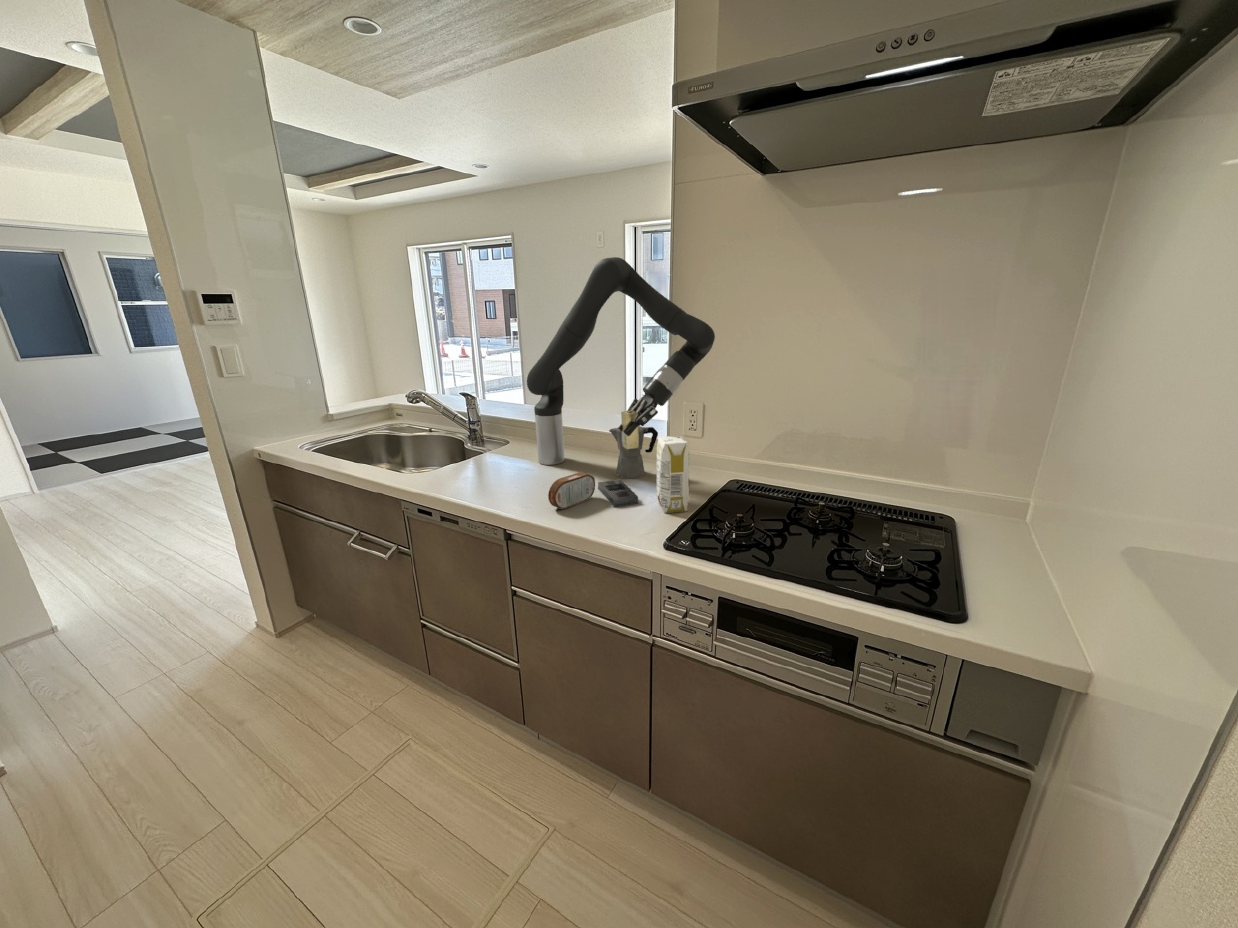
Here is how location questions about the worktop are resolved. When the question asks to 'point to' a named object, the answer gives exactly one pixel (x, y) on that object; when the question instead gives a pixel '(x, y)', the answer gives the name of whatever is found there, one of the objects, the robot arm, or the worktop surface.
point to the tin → (571, 490)
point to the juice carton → (673, 473)
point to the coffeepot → (632, 453)
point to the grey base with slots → (618, 493)
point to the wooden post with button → (633, 439)
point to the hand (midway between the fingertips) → (623, 432)
